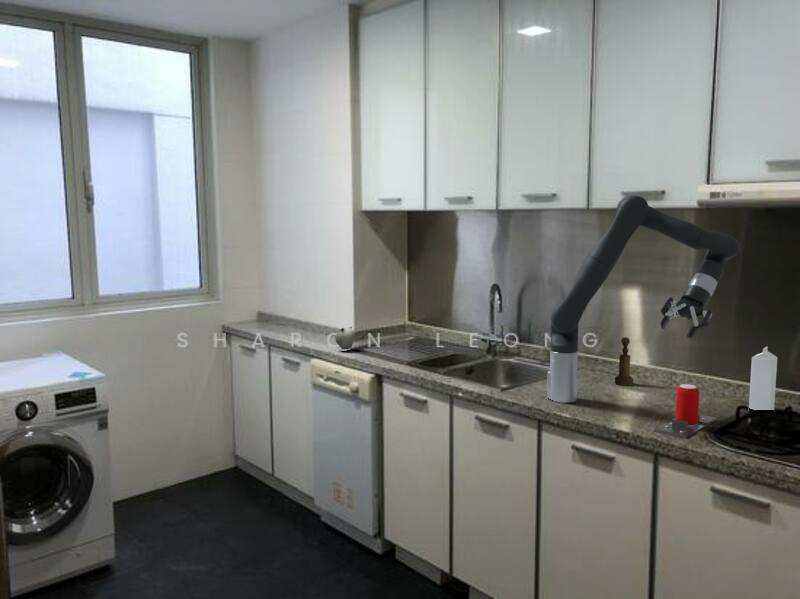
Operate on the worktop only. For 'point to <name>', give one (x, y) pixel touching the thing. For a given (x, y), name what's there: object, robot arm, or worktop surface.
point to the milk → (763, 381)
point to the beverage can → (687, 404)
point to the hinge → (684, 426)
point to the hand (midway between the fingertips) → (675, 332)
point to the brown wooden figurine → (624, 366)
